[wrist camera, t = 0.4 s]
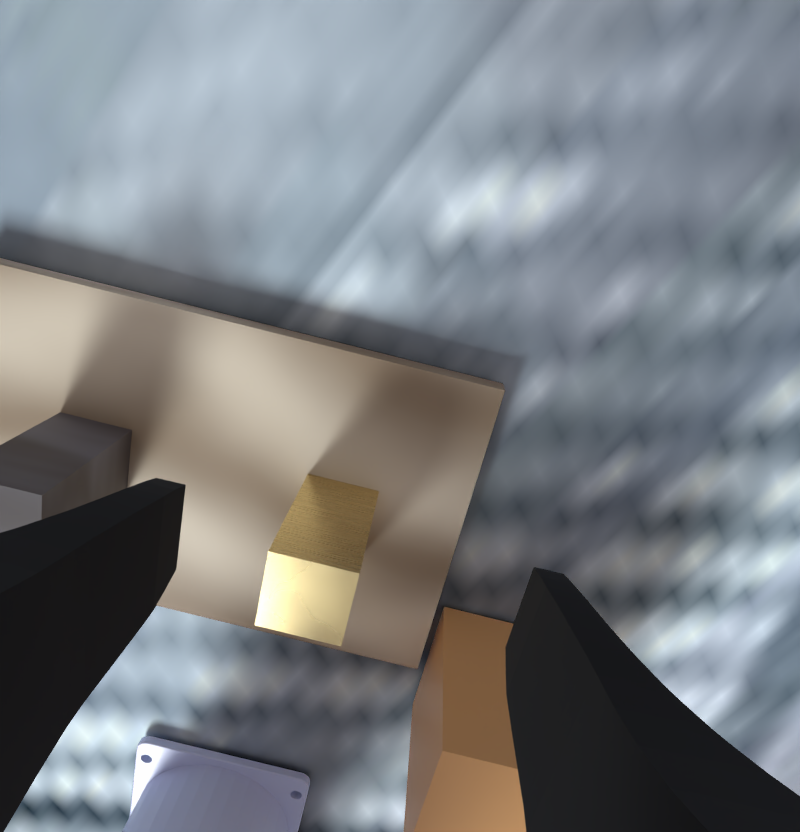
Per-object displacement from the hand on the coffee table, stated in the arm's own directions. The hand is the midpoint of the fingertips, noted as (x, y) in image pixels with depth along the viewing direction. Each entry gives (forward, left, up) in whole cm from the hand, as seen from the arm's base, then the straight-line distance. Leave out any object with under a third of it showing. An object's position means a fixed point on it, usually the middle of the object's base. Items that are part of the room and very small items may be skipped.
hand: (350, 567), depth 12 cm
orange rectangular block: (-10, -6, -10) cm, 15 cm away
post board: (-4, +6, -10) cm, 12 cm away
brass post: (-4, +1, -10) cm, 10 cm away
